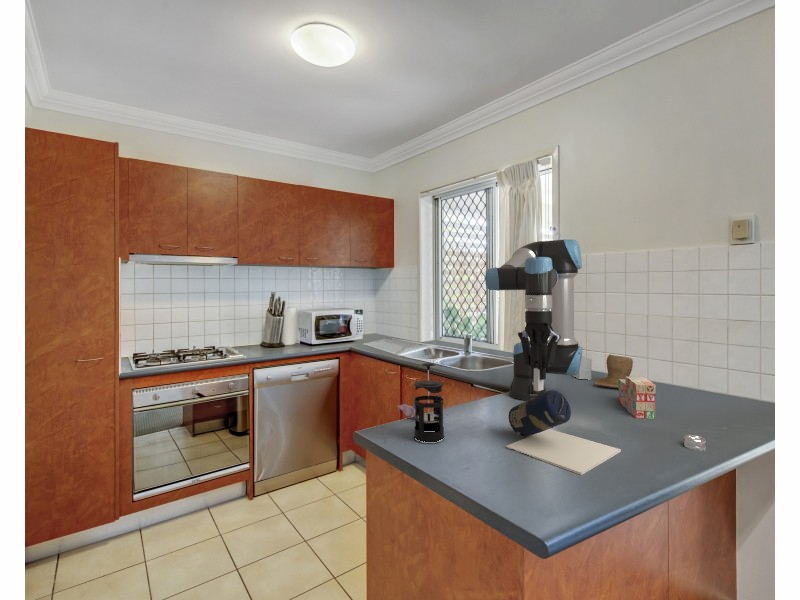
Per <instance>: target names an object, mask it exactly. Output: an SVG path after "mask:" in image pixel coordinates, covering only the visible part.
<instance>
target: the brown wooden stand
mask: <svg viewBox="0 0 800 600" xmlns="http://www.w3.org/2000/svg"><path fill="white" fill-rule="evenodd" d="M633 363H634V361H633V358H631V357H630V356H629V357H628V356H621V355H614V354H608V355H607V358H606V363H605V364H606V369H607V370H606V371H607V376H606V377H605V378H597V379H595V381H594V385H595V386H597V387H603V388H608V389H616V390H617V389H618V390H619V387H618V379H624V380H625V377H631V376H630V375H631V373H632V371H633V367H634V366H633V365H634V364H633Z"/></svg>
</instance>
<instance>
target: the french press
mask: <svg viewBox="0 0 800 600" xmlns="http://www.w3.org/2000/svg"><path fill="white" fill-rule="evenodd" d="M421 366H422V367H426V370H427V379H426V380H417V381H415V382H413V386H414V388H415V389H414V390H415V391H417V390H419V389H425V390H426V391H427V395H420V396H417V397H414V399H413V405H414V404H415V418H414V419H415V423H414V424H415V425H414V431H413V433H414V435H415V438H416V439H417V440H420V441H423V442H424V441H425V442H437V441H439V440H441V439H443V438H444V437H445V431H444V398H443V397H442V396H441V395H437V393H442V391H443V386H444V383H443V382H441V381H440V380H431V379H430V370H431V367H433V366H436V364H435V363H434V362H424V363H421ZM430 393H431V394H436V395H430ZM430 400H431V401H433V402H430ZM420 401H421V402H420ZM422 401H427V402H422ZM425 408H426V409H427V408H428V409H427V411H428V412H427V413H425ZM432 408H433V412H432V413H430V409H432ZM424 431H435V432H424Z"/></svg>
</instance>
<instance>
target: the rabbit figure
mask: <svg viewBox="0 0 800 600" xmlns="http://www.w3.org/2000/svg"><path fill="white" fill-rule="evenodd" d="M395 406H396V408H398V409H399V410H401V411H402V412H403V414H404V415H405V416H406V417H407V418H410V419H412V418H414V417H415V404H414V403H413V406H412V405H408V404H406V403H403V404H399V405H395Z"/></svg>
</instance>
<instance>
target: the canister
mask: <svg viewBox="0 0 800 600" xmlns="http://www.w3.org/2000/svg"><path fill="white" fill-rule="evenodd" d="M546 391H547V392H545V393H543V394H541V395H538V396H536V397H534V398H532V399H530V400H528V401H527V400H525V401H524V402H522V403H520V404H517V405H514V406H513V407H512V408H510V410H509V412H508V423H509V425H510V427H511V429H512V431H513V432H514V433H515V434H516V435H518V436H519V437H523V438H527V437H529V436H532V435H534V434H537V433H540V432H543V431H545V430H547V429H551V430H552V429H554V428H556V427H557V426H560V425H563V424H565V423H567V422H569V421H570V420H571V419H570V418H571V416H572V411H571V406H570V403H569V402H568V399H567V398H566V397H565V395H563V394H562V393H561V392H559V391H557V390H555V389H553V390H546Z"/></svg>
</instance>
